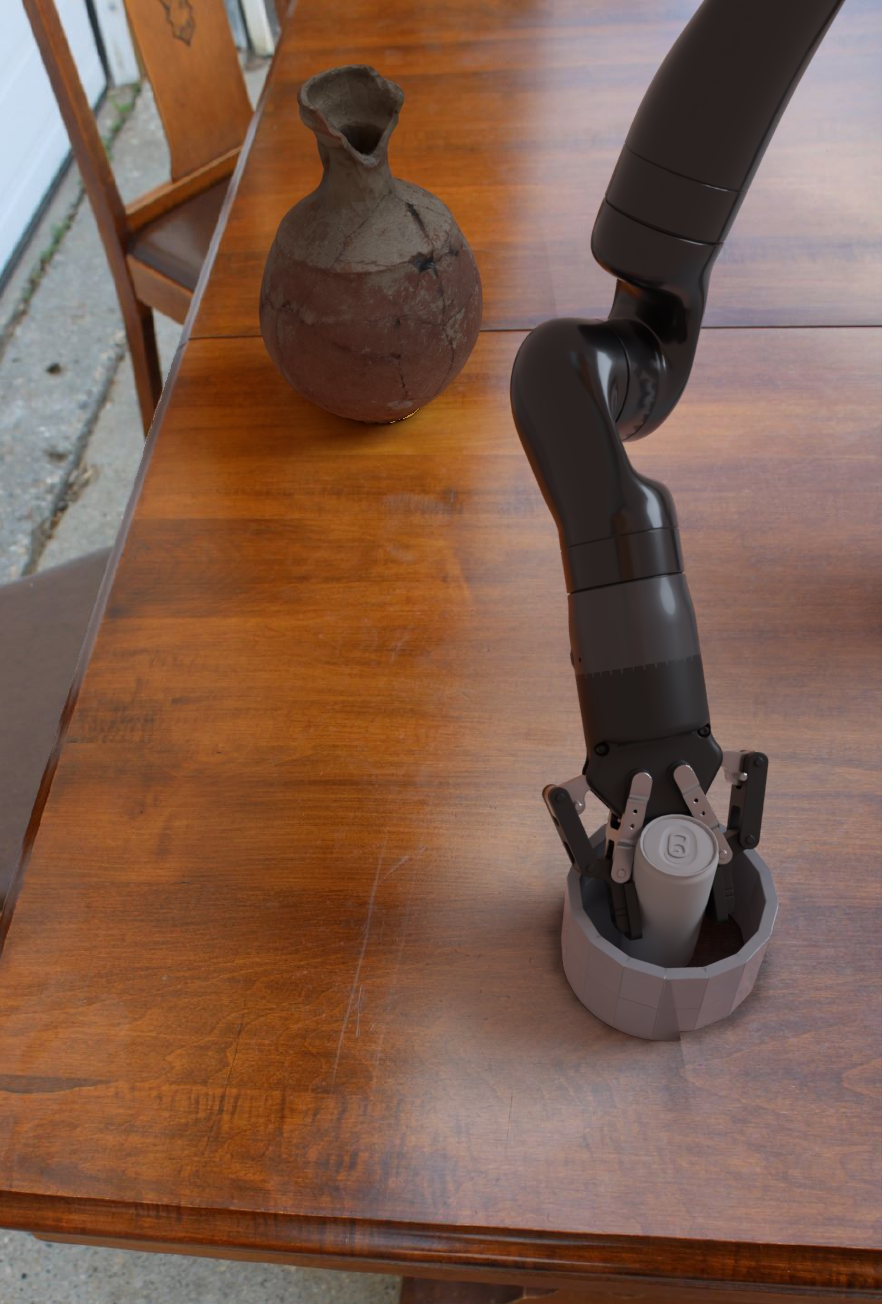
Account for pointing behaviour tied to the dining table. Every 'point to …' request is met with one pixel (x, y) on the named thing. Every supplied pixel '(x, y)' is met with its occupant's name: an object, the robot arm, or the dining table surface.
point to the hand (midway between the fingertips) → (675, 928)
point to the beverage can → (671, 889)
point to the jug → (367, 267)
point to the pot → (650, 992)
